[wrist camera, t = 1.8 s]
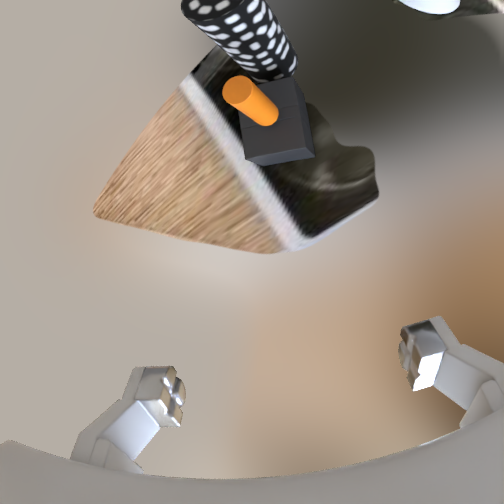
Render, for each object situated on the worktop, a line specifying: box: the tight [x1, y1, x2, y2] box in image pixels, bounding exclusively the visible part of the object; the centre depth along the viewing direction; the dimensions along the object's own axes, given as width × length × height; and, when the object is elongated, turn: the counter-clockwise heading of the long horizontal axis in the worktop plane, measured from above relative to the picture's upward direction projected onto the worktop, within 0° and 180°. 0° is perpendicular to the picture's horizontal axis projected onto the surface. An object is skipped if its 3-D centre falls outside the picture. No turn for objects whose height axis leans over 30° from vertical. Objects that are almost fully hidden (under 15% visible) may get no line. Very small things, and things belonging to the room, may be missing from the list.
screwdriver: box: [223, 76, 279, 126], centre depth 34 cm, size 3×3×17 cm
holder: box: [238, 77, 315, 166], centre depth 39 cm, size 10×8×7 cm
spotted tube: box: [181, 0, 298, 84], centre depth 32 cm, size 8×8×20 cm
